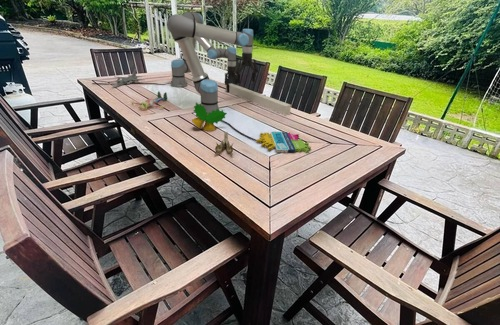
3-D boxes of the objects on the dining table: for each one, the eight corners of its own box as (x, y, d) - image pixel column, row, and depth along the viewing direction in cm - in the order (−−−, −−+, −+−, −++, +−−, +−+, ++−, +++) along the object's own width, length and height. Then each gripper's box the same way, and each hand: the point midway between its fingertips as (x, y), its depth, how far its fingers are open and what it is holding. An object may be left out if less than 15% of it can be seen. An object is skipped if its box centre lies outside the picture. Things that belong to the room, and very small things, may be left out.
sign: (313, 150, 142) (258, 149, 139) (312, 153, 143) (258, 152, 140) (301, 132, 164) (254, 130, 161) (301, 134, 165) (254, 133, 162)
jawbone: (234, 135, 144) (233, 125, 135) (233, 160, 138) (232, 151, 129) (217, 135, 144) (216, 125, 135) (216, 160, 138) (214, 150, 129)
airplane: (108, 79, 258) (106, 69, 253) (142, 77, 271) (140, 67, 266) (110, 89, 230) (108, 78, 224) (148, 87, 243) (146, 76, 238)
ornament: (218, 133, 171) (224, 110, 169) (221, 134, 163) (227, 111, 161) (186, 125, 162) (192, 101, 160) (189, 126, 155) (195, 101, 153)
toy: (179, 93, 205) (158, 103, 179) (179, 102, 208) (159, 113, 183) (147, 89, 210) (122, 98, 184) (148, 98, 213) (124, 108, 188)
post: (289, 114, 200) (291, 104, 196) (284, 115, 196) (285, 106, 193) (231, 90, 250) (231, 83, 247) (225, 91, 247) (226, 83, 243)
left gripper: (237, 64, 242) (236, 89, 254) (220, 65, 231) (220, 91, 243) (242, 66, 237) (241, 91, 249) (225, 67, 226) (224, 93, 238)
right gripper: (258, 51, 199) (256, 79, 210) (229, 52, 187) (229, 82, 197) (264, 52, 194) (262, 81, 204) (235, 53, 182) (234, 84, 192)
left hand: (230, 91), depth 246 cm, fingers closed on post, 6 cm apart
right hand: (246, 82), depth 201 cm, fingers open, 13 cm apart
